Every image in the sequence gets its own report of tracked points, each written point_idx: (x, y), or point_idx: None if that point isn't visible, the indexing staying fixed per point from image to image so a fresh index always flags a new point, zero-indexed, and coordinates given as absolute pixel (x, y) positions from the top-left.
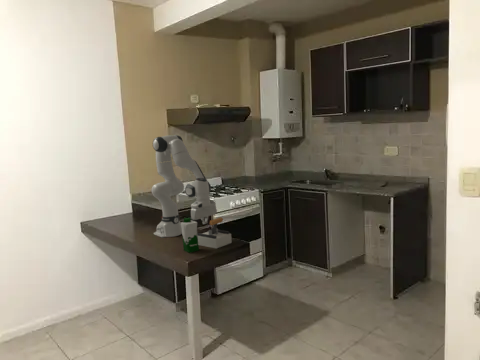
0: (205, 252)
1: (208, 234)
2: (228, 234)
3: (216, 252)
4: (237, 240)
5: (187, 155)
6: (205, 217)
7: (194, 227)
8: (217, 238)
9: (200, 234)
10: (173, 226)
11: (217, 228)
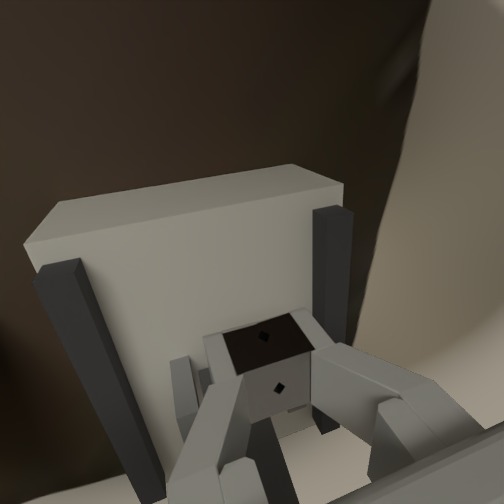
0: (15, 449)
1: (196, 320)
2: (305, 426)
3: (90, 477)
4: (350, 342)
5: None
6: (383, 445)
7: None
8: (166, 481)
9: (64, 340)
10: None
11: (302, 407)
